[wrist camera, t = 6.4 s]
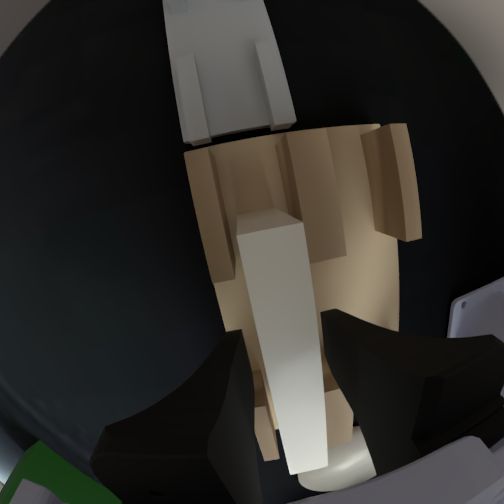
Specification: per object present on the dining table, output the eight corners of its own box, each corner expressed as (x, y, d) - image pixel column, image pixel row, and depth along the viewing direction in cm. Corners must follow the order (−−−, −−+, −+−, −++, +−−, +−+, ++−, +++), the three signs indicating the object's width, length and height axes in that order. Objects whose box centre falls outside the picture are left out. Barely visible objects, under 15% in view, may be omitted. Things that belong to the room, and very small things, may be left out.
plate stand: (247, -36, 10) (248, -55, 8) (295, 129, 12) (303, 121, 10) (162, -21, 9) (155, -38, 8) (187, 150, 12) (179, 144, 10)
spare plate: (405, 404, 17) (411, 414, 16) (390, 462, 19) (395, 470, 18) (290, 439, 17) (293, 451, 16) (300, 489, 19) (302, 499, 17)
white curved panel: (274, 207, 12) (302, 222, 7) (304, 390, 14) (327, 466, 9) (237, 214, 12) (236, 235, 7) (275, 396, 14) (290, 474, 9)
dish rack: (372, 126, 12) (410, 111, 9) (387, 389, 16) (410, 422, 12) (188, 154, 12) (169, 142, 9) (255, 423, 16) (258, 466, 12)
